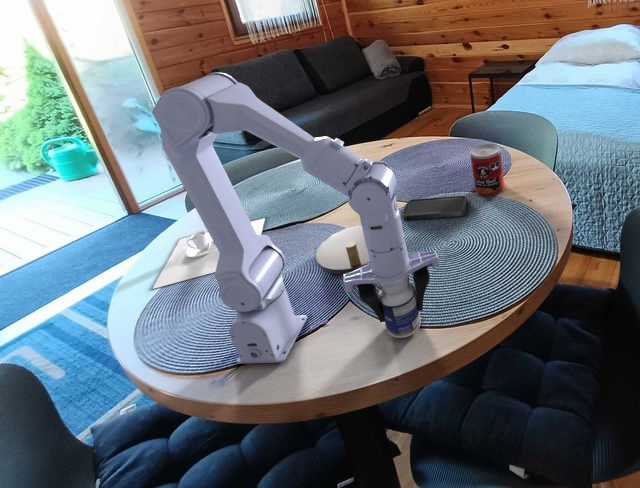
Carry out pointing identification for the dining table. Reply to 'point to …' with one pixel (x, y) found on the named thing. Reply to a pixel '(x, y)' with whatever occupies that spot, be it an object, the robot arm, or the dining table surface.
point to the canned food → (487, 169)
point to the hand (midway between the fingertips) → (401, 312)
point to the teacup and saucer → (194, 257)
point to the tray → (343, 251)
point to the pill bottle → (399, 307)
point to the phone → (435, 207)
